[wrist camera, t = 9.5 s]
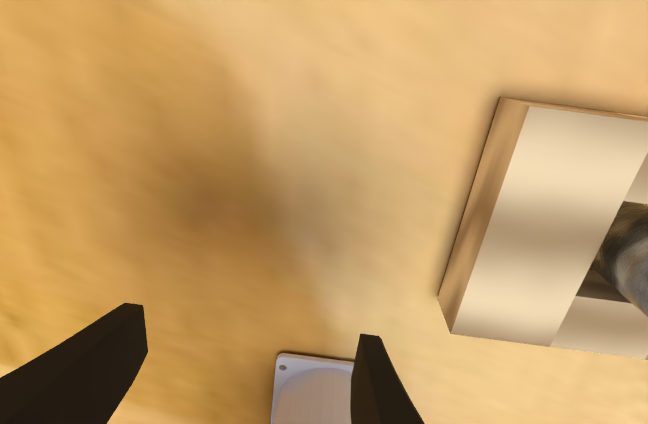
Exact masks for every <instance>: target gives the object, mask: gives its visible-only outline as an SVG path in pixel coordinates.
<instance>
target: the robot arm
mask: <svg viewBox="0 0 648 424" xmlns="http://www.w3.org/2000/svg"><path fill="white" fill-rule="evenodd" d="M147 353H148V347H147V338H146V328H145V319H144V309H143V305H138V304H130V303H124V304H122V305H120V306H119V307H117V308H115V309H114V310H112V311H111V312H109V313H108V314H106V315H104V316H103V317H101V318H100V319H98V320H97V321H95V322H94V323H92V324H91V325H89V326H87V327H86V328H84V329H83V330H81V331H80V332H78V333H76V334H75V335H73V336H72V337H70V338H68V339H67V340H65V341H64V342H62V343H60V344H59V345H57V346H56V347H54V348H52V349H50V350H49V351H47V352H45V353H44V354H42V355H40V356H38V357H37V358H35V359H33V360H32V361H30V362H28V363H26V364H25V365H23V366H21V367H19V368H18V369H16V370H14V371H12V372H10V373H8V374H7V375H5V376H3V377H1V378H0V424H107V422H108V421H109V419H110V417H111V416H112V414H113V413H114V411H115V410H116V408H117V407H118V405H119V404H120V402H121V401H122V399H123V397H124V396H125V394H126V393H127V391H128V390H129V388H130V386H131V385H132V383H133V381H134V380H135V378H136V376H137V374H138V372H139V370H140V368H141V366H142V363H143V361H144V359H145V357H146V355H147ZM281 365H284V366H281ZM270 424H425V423H424V422H423V420H422V418H421V417H420V415H419V413H418V412H417V410H416V408H415V407H414V405H413V403H412V401H411V400H410V398H409V396H408V394H407V392H406V390H405V389H404V387H403V385H402V383H401V381H400V379H399V377H398V375H397V373H396V371H395V369H394V367H393V365H392V363H391V361H390V358H389V356H388V354H387V352H386V349H385V347H384V344H383V342H382V339H381V338H380V337H379V336H375V335H367V334H360V338H359V343H358V348H357V352H356V357H355V362H349V361H341V360H334V359H326V358H318V357H311V356H303V355H295V354H288V353H281V354H279V355H278V356H277V359H276V368H275V379H274V390H273V401H272V412H271V423H270Z"/></svg>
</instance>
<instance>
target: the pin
mask: <svg viewBox="0 0 648 424" xmlns="http://www.w3.org/2000/svg"><path fill="white" fill-rule="evenodd" d="M590 267H591V268H592V269H594V270H595V271H596V272H597V273H598V274H599V275H600V276H602V277H603V278H604V279H605V280H606V281H607V282H608V283H609V284H611V285H612V286H613V287H614V288H615V289H616V290H617V291H619V292H620V293H621V294H622V295H623V296H624V297H625V298H626V299H628V300H629V301H630V302H631V303H632V304H633V305H634V306H636V307H637V308H638V309H639V310H640V311H641V312H642V313H643V314H645V315H646V316H647V317H648V207H647V206H645V205H643V204H641V203H635V202H627V201H623V202H622V204H621V206H620V208H619V210H618V212H617V214H616V216H615V218H614V220H613V222H612V224H611V226H610V228H609V230H608V232H607V234H606V236H605V238H604V240H603V242H602V244H601V246H600V248H599V250H598V252H597V254H596V256H595V258H594V260H593V262H592V264H591V266H590Z"/></svg>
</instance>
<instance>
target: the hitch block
mask: <svg viewBox="0 0 648 424" xmlns="http://www.w3.org/2000/svg"><path fill="white" fill-rule="evenodd" d="M623 201H627V202H635V203H642V204H648V117H645V116H638V115H630V114H623V113H615V112H608V111H600V110H593V109H585V108H578V107H571V106H563V105H556V104H548V103H541V102H533V101H526V100H518V99H511V98H503V97H500V100H499V103H498V106H497V109H496V113H495V116H494V119H493V122H492V125H491V129H490V132H489V135H488V138H487V141H486V145H485V148H484V151H483V154H482V158H481V161H480V164H479V167H478V170H477V174H476V177H475V180H474V183H473V186H472V190H471V193H470V196H469V199H468V202H467V206H466V209H465V212H464V215H463V219H462V222H461V225H460V228H459V231H458V235H457V238H456V241H455V244H454V247H453V251H452V254H451V257H450V260H449V264H448V267H447V270H446V273H445V276H444V280H443V283H442V286H441V289H440V292H439V296H438V302H439V304H440V307H441V310H442V312H443V315H444V318H445V320H446V323H447V326H448V328H449V331H450V334H455V335H463V336H471V337H478V338H486V339H494V340H501V341H509V342H516V343H524V344H532V345H539V346H547V347H555V348H562V349H570V350H578V351H585V352H593V353H600V354H608V355H616V356H623V357H631V358H639V359H646V360H648V317H647V316H646V315H645V314H643V313H642V312H641V311H640V310H639V309H638V308H637V307H636V306H634V305H633V304H632V303H631V302H630V301H629V300H628V299H626V298H625V297H624V296H623V295H622V294H621V293H620V292H619V291H617V290H616V289H615V288H614V287H613V286H612V285H611V284H609V283H608V282H607V281H606V280H605V279H604V278H603V277H602V276H600V275H599V274H598V273H597V272H596V271H595V270H589V268H590V266H591V264H592V262H593V260H594V258H595V256H596V254H597V252H598V250H599V248H600V246H601V244H602V242H603V240H604V238H605V236H606V234H607V232H608V230H609V228H610V226H611V224H612V222H613V220H614V218H615V216H616V214H617V212H618V210H619V208H620V206H621V204H622V202H623Z"/></svg>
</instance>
